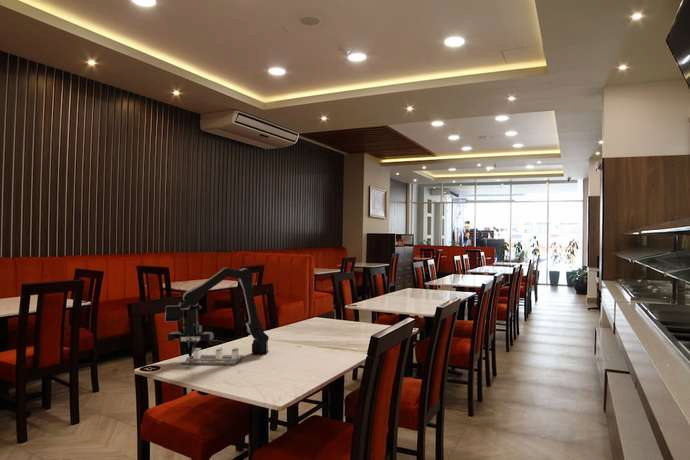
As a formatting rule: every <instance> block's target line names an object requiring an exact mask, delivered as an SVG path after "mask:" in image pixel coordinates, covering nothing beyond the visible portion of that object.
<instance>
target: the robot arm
mask: <svg viewBox="0 0 690 460" xmlns="http://www.w3.org/2000/svg"><path fill="white" fill-rule="evenodd" d="M253 275H254V274H253V272H252V270H250V269H249V268H245V267H242V268H240V269H237V268H229V267H223V268H222V269H221V270H220V271H218V272H217V273H215V274H214V275H212V276H210V277H209V278H208V279H207V280H205V281H204V282H202V284H200V285H198V286H195V287H193V288H191V289H189V290H187V291H185V292H184V293H183V294H182V295H183V296H182V300H181V301H180V302H179V303H178V304H177V305H166V306H165V312H164V321H165V323H169V322H170V323H171V322H180V320H181V319H183V322H182V324H181V325H182V327H183V328H182V329H183V333H181V331H172V332H170V333H168V334H167V335H166V341H167V342H174V341H175V340H176V339H180V341H179V343H180V344H182V345H183V347H184V348H185V350H186V352H187V355H188V357H189V356H193V355H194V351H193V350H194V349H195V348H196V346H197V344H198V342H200V341H201V342H209V341H212V340H213V339H214V337H215V336H214V333H213V332H212V331H204V332H202V331H203V325H200V324H199V321H198V310H202V309H203V307H202V306H200V304H199V303H198V301H200V300H201V298H202V297H203V296H204V295H206V293H207V292H208V291H209V292H210V290H211V289H213V288H214V287H215V286H216V285H218V284H220V283H221V282H222V281H224V280H225V279H227V278H234V279H238V281H239V284H240V286H241V288H242V290H243V296H244V300H245V306H246V311H247V315H248V322H245V325H246V328H247V329H246V332H248V333H249V335H250V336H251V337H252V338H253V340H252V343H251V355H252V356H266V355H267V354H268V353H269V352H270V351H269V339H270V337H269V335H267V333H266V332H265V329H264V327H263V325H262V323H261V320H260V318H259V315H258V310H257V305H256V300H255V296H254V291H253V282H254V280H253Z"/></svg>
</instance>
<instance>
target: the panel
mask: <svg viewBox="0 0 690 460" xmlns="http://www.w3.org/2000/svg"><path fill="white" fill-rule="evenodd" d="M244 356H245V355H242V354H238V358H237V359H232V354H223V358H221V359H216V354H201V358H199V359H194V354H192V356H189V355H188V356H187V357H186V359H185V361H183V362H182V365H183V366H236V365H237V364H239V362H240V361H241V360H242V359H244Z"/></svg>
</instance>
